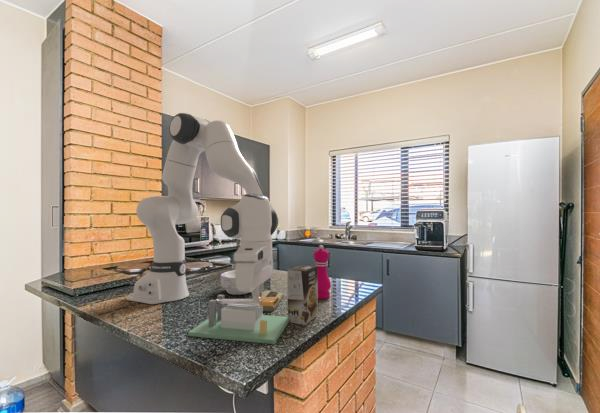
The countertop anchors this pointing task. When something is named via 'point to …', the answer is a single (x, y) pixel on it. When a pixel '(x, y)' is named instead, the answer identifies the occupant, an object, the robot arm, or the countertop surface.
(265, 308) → the computer
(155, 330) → the countertop surface
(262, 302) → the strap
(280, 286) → the countertop surface
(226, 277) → the paper bowls
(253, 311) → the heatsink board
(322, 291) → the pepper mill
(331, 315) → the countertop surface
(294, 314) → the coffee box
